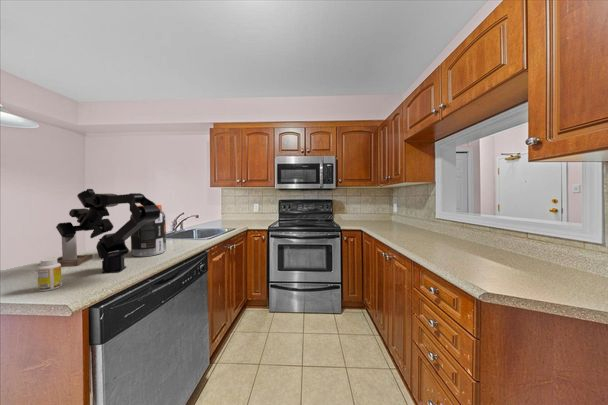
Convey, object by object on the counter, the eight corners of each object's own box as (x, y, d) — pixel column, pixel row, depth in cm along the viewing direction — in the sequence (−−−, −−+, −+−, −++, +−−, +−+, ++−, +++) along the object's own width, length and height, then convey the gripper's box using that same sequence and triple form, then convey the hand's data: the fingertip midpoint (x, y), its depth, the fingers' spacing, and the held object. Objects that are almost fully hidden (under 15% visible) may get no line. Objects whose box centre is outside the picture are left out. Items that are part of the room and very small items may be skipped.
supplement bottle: (61, 283, 86) (59, 256, 86) (62, 288, 83) (61, 258, 82) (38, 288, 82) (36, 259, 82) (38, 293, 79) (37, 262, 78)
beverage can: (64, 262, 108) (63, 235, 107) (61, 260, 110) (60, 234, 110) (78, 259, 112) (77, 234, 111) (75, 258, 114) (74, 233, 114)
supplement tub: (172, 252, 131) (171, 205, 129) (140, 259, 118) (138, 206, 116) (157, 248, 139) (155, 203, 138) (125, 254, 126) (124, 205, 125)
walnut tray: (92, 258, 118) (92, 254, 118) (77, 265, 107) (77, 261, 107) (62, 260, 115) (62, 256, 115) (43, 268, 103) (43, 263, 103)
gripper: (108, 201, 114) (94, 223, 118) (57, 203, 97) (42, 229, 101) (120, 218, 112) (105, 240, 116) (70, 223, 94) (55, 249, 98)
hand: (79, 239), depth 108 cm, fingers open, 9 cm apart
